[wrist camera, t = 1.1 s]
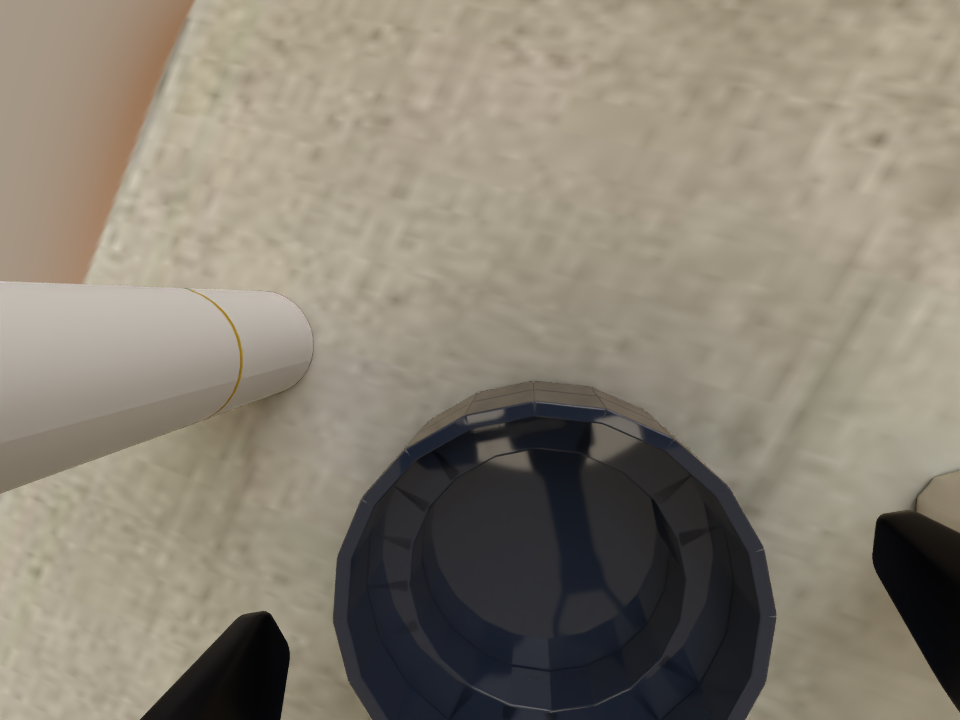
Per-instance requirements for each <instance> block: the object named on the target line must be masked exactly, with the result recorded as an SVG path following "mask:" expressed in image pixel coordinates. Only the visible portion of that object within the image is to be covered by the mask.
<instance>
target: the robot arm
mask: <svg viewBox="0 0 960 720" xmlns="http://www.w3.org/2000/svg"><path fill="white" fill-rule="evenodd" d="M872 559H873V564H874V568H875V570H876V573H877V575H878V576H879V578H880V580H881V582H882V584H883V585H884V587H885V589H886V591H887V592H888V594H889V596H890V598H891V599H892V601H893V603H894V605H895V606H896V608H897V610H898V612H899V613H900V615H901V617H902V619H903V620H904V622H905V624H906V626H907V627H908V629H909V631H910V633H911V634H912V636H913V638H914V640H915V641H916V643H917V645H918V647H919V648H920V650H921V652H922V654H923V655H924V657H925V659H926V661H927V662H928V664H929V666H930V668H931V669H932V671H933V672H934V674H935V676H936V677H937V679H938V681H939V682H940V684H941V686H942V687H943V689H944V690H945V692H946V693H947V695H948V696H949V698H950V699H951V701H952V702H953V704H954V705H955V706H956V708H957V709H958V711H959V712H960V533H959V532H957V531H955V530H953V529H951V528H949V527H947V526H945V525H943V524H941V523H939V522H937V521H935V520H933V519H931V518H929V517H927V516H925V515H923V514H921V513H918V512H916V511H912V510H904V511H898V512H891V513H885V514H882V515H880V516H879V517H878V519H877V521H876V528H875V536H874V545H873V553H872ZM289 660H290V651H289V646H288V643H287V641H286V639H285V638H284V636H283V634H282V632H281V631H280V629H279V627H278V626H277V624H276V622H275V620H274V619H273V617H272V615H271V614H270V613H268V612H266V611H260V612H254V613H248V614H244V615H241V616H240V617H238V618H237V619H236V620H235V621H234V622H233V623H232V624H231V625H230V626H229V627H228V628H227V629H226V630H225V631H224V632H223V634H222V635H221V636H220V637H219V638H218V639H217V640H216V641H215V642H214V643H213V644H212V645H211V646H210V647H209V648H208V649H207V650H206V651H205V652H204V653H203V654H202V655H201V656H200V658H199V659H198V660H197V661H196V662H195V663H194V664H193V665H192V666H191V667H190V668H189V669H188V670H187V671H186V672H185V673H184V674H183V675H182V676H181V677H180V678H179V679H178V680H177V681H176V683H175V684H174V685H173V686H172V687H171V688H170V689H169V690H168V691H167V692H166V693H165V694H164V695H163V696H162V697H161V698H160V699H159V700H158V701H157V702H156V703H155V704H154V705H153V706H152V708H151V709H150V710H149V711H148V712H147V713H146V714H145V715H144V716H143V717H142V718H141V719H140V720H280V719H281V712H282V706H283V699H284V693H285V687H286V680H287V674H288V667H289Z"/></svg>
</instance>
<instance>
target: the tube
mask: <svg viewBox="0 0 960 720" xmlns="http://www.w3.org/2000/svg"><path fill="white" fill-rule="evenodd" d="M312 354H313V337H312V332H311V328H310V326H309V323H308V321H307V319H306V317H305V316H304V314H303V313H302V311H301V310H300V309H299V308H298V307H297V306H296V305H295V304H294V303H293V302H291V301H290V300H288V299H287V298H286V297H283V296H281V295H279V294H276V293H272V292H268V291H244V290H218V289H191V288H165V287H141V286H114V285H88V284H61V283H59V284H58V283H33V282H6V281H0V493H3V492H6V491H9V490H11V489H14V488H17V487H20V486H22V485H25V484H28V483H31V482H34V481H36V480H39V479H42V478H45V477H47V476H50V475H53V474H56V473H58V472H61V471H64V470H67V469H70V468H72V467H75V466H78V465H81V464H83V463H86V462H89V461H92V460H95V459H97V458H100V457H103V456H106V455H108V454H111V453H114V452H117V451H120V450H122V449H125V448H128V447H131V446H133V445H136V444H139V443H142V442H145V441H147V440H150V439H153V438H156V437H158V436H161V435H164V434H167V433H169V432H172V431H175V430H178V429H180V428H183V427H186V426H188V425H191V424H194V423H197V422H199V421H202V420H205V419H207V418H210V417H213V416H216V415H218V414H221V413H224V412H227V411H230V410H232V409H235V408H238V407H241V406H243V405H246V404H249V403H252V402H254V401H257V400H260V399H263V398H265V397H268V396H271V395H274V394H277V393H279V392H282V391H285V390H287V389H289V388H290V387H292V386H293V385H295V384H296V383H297V382H298V381H299V380H300V379H301V378H302V377H303V375H304V374H305V372H306V371H307V369H308V367H309V365H310V362H311V359H312Z"/></svg>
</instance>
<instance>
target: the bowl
mask: <svg viewBox="0 0 960 720" xmlns="http://www.w3.org/2000/svg"><path fill="white" fill-rule="evenodd" d="M333 623H334V627H335V631H336V635H337V639H338V643H339V647H340V650H341V654H342V658H343V662H344V666H345V670H346V674H347V677H348V681H349V682H350V685H351V686H352V688H353V689H354V691H355V693H356V694H357V696H358V698H359V699H360V701H361V702H362V704H363V706H364V707H365V709H366V710H367V712H368V714H369V715H370V717H371V718H372V720H745V719H746V718H747V716H748V714H749V712H750V710H751V709H752V707H753V705H754V703H755V701H756V700H757V698H758V696H759V694H760V692H761V691H762V689H763V687H764V685H765V682H766V679H767V673H768V667H769V660H770V654H771V648H772V642H773V636H774V630H775V623H776V609H775V604H774V599H773V593H772V588H771V583H770V577H769V572H768V567H767V561H766V556H765V551H764V548H763V545H762V543H761V542H760V540H759V538H758V536H757V535H756V533H755V531H754V529H753V528H752V526H751V524H750V523H749V521H748V519H747V517H746V516H745V514H744V512H743V510H742V509H741V507H740V505H739V503H738V502H737V500H736V498H735V496H734V495H733V493H732V491H731V490H730V488H729V487H728V486H727V484H726V483H725V482H723V481H722V480H721V479H720V478H719V477H718V476H717V475H716V474H715V473H714V472H713V471H712V470H711V469H710V468H708V467H707V466H706V465H705V464H704V463H703V462H702V461H701V460H700V459H699V458H698V457H697V456H696V455H695V454H693V453H692V452H691V451H690V450H689V449H688V448H687V447H686V446H685V445H684V444H683V443H681V442H680V441H679V440H678V439H677V438H676V437H675V436H674V435H672V434H671V433H670V432H669V431H668V430H667V429H666V428H665V427H663V426H662V425H661V424H660V423H659V422H658V421H657V420H655V419H654V418H653V417H652V416H651V415H650V414H649V413H648V412H646V411H645V410H643V409H641V408H639V407H637V406H635V405H632V404H630V403H628V402H625V401H623V400H621V399H619V398H616V397H614V396H612V395H609V394H607V393H605V392H603V391H600V390H598V389H596V388H593V387H589V386H581V385H571V384H561V383H552V382H542V381H534V382H533V381H529V382H525V383H520V384H515V385H510V386H505V387H501V388H496V389H491V390H486V391H482V392H479V393H475V394H474V395H472V396H470V397H469V398H467V399H465V400H463V401H462V402H460V403H458V404H456V405H455V406H453V407H451V408H449V409H448V410H446V411H444V412H442V413H441V414H439V415H437V416H436V417H434V418H432V419H431V420H430V421H428V422H427V424H426V425H425V426H424V427H423V428H422V429H421V430H420V432H419V433H418V434H417V435H416V436H415V437H414V438H413V439H412V441H411V442H410V443H409V444H408V445H407V446H406V447H405V448H404V450H403V451H402V452H401V453H400V454H399V455H398V456H397V457H396V459H395V460H394V461H393V462H392V463H391V464H390V466H389V467H388V468H387V469H386V470H385V471H384V472H383V474H382V475H381V476H380V477H379V478H378V479H377V481H376V482H375V483H374V484H373V485H372V486H371V488H370V489H369V490H368V491H367V492H366V493H365V494H364V496H363V497H362V499H361V500H360V503H359V505H358V508H357V510H356V512H355V515H354V517H353V520H352V522H351V524H350V527H349V529H348V532H347V534H346V536H345V539H344V541H343V544H342V546H341V548H340V551H339V553H338V557H337V565H336V580H335V595H334V611H333Z"/></svg>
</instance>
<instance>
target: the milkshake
mask: <svg viewBox="0 0 960 720" xmlns="http://www.w3.org/2000/svg"><path fill="white" fill-rule="evenodd" d="M916 512H918V513H921V514H923V515H925V516H927V517H929V518H931V519H933V520H935V521H937V522H939V523H941V524H943V525H945V526H947V527H949V528H951V529H953V530H955V531H957V532H959V533H960V470H958V471H954V472H951V473H947V474H944V475H940V476H936V477H935V478H934V479H933V480H932V481H931V482H930V483H929V485H928V486H927V487H926V488H925V489H924V490H923V491H922V492H921V494H920V495H919V496H918V497H917V507H916Z"/></svg>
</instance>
